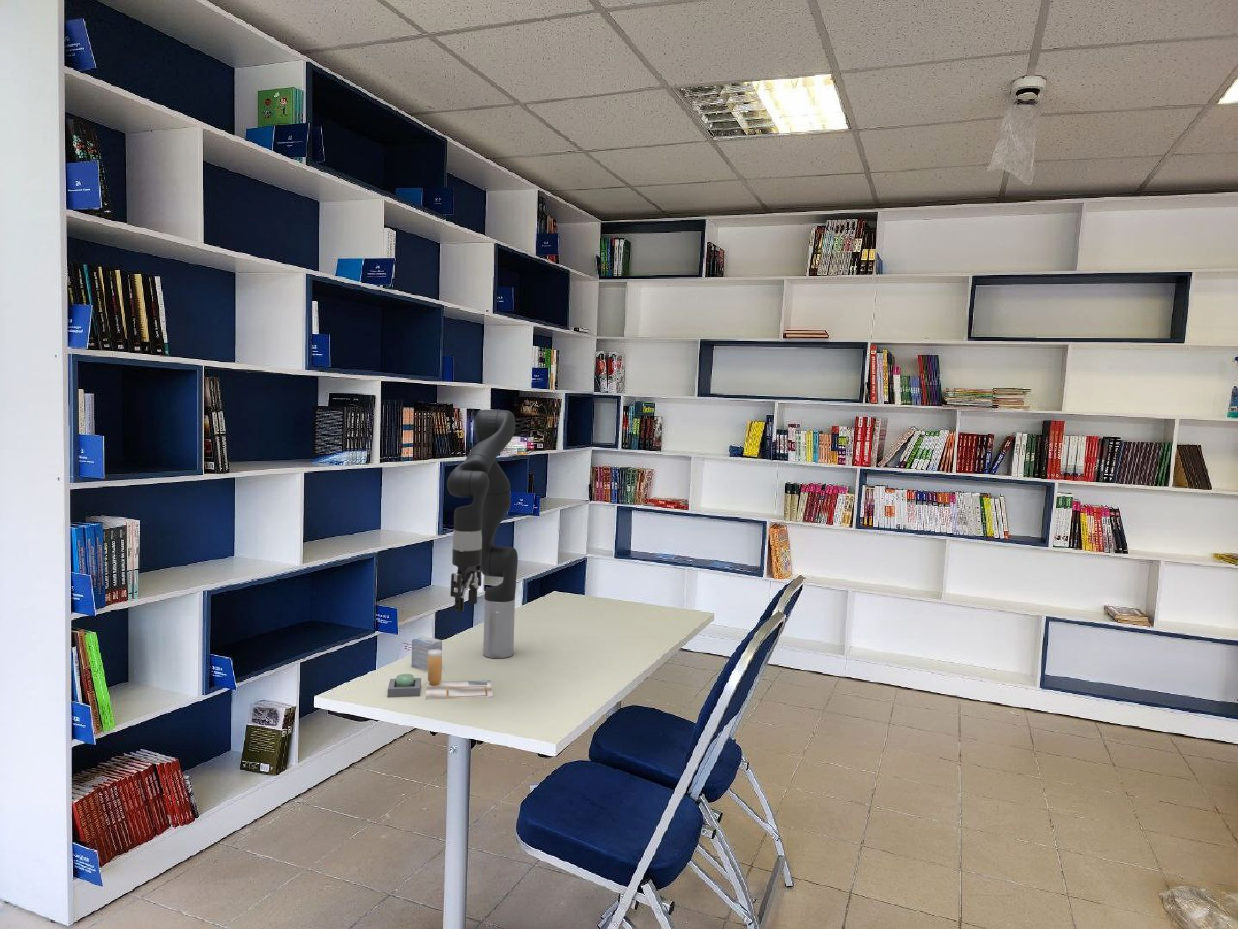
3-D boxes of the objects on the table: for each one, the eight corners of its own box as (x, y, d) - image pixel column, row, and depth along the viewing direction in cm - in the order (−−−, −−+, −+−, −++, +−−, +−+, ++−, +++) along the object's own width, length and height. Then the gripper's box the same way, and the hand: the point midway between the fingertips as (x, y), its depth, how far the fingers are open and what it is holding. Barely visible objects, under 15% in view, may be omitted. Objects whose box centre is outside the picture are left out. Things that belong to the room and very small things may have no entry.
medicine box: (442, 669, 230) (443, 640, 229) (431, 673, 226) (431, 643, 225) (422, 664, 234) (422, 635, 233) (410, 668, 230) (411, 638, 229)
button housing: (390, 688, 213) (390, 678, 213) (421, 687, 215) (421, 677, 215) (387, 698, 205) (387, 689, 205) (419, 697, 207) (420, 688, 207)
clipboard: (423, 683, 218) (423, 681, 218) (493, 680, 222) (494, 679, 222) (421, 701, 204) (421, 700, 204) (496, 699, 208) (496, 697, 208)
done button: (396, 683, 212) (396, 674, 212) (413, 683, 213) (414, 673, 213) (395, 689, 208) (395, 680, 207) (413, 688, 208) (413, 679, 208)
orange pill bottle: (427, 681, 218) (428, 649, 217) (441, 681, 219) (442, 648, 218) (427, 686, 214) (427, 653, 214) (441, 685, 215) (442, 652, 215)
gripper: (465, 541, 216) (463, 600, 218) (441, 550, 203) (440, 613, 204) (491, 543, 215) (489, 602, 216) (469, 552, 201) (468, 616, 202)
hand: (466, 608), depth 210 cm, fingers open, 8 cm apart
